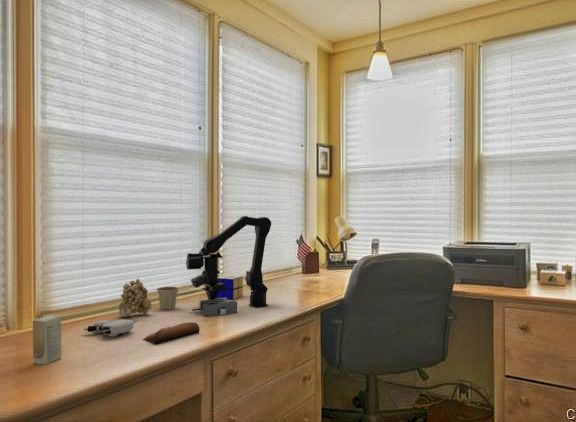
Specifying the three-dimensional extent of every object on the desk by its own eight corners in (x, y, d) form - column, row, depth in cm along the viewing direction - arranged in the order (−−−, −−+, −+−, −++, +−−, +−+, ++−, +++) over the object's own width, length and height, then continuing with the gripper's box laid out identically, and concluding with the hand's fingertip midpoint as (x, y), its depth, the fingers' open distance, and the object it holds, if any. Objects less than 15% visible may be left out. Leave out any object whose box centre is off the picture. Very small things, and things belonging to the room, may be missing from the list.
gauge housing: (223, 306, 198) (223, 296, 198) (237, 312, 187) (237, 301, 187) (187, 311, 189) (187, 300, 189) (199, 317, 178) (199, 306, 178)
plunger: (225, 307, 194) (225, 297, 194) (236, 312, 185) (236, 301, 185) (191, 312, 186) (191, 301, 186) (200, 317, 177) (200, 306, 177)
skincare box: (50, 356, 131) (50, 314, 130) (62, 357, 129) (62, 315, 129) (31, 363, 124) (31, 319, 124) (44, 365, 123) (44, 320, 123)
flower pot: (172, 311, 189) (172, 290, 189) (152, 310, 191) (152, 290, 191) (182, 306, 198) (182, 287, 198) (162, 305, 200) (162, 286, 200)
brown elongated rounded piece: (184, 328, 161) (190, 313, 159) (195, 341, 158) (201, 326, 155) (140, 339, 147) (146, 324, 145) (151, 354, 143) (157, 338, 141)
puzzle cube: (214, 298, 216) (214, 277, 216) (225, 295, 225) (225, 275, 225) (233, 300, 212) (233, 279, 212) (243, 296, 222) (243, 276, 222)
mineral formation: (115, 317, 179) (115, 279, 179) (144, 311, 189) (144, 275, 189) (125, 320, 173) (125, 281, 173) (155, 314, 184) (155, 277, 184)
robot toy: (80, 338, 153) (113, 340, 146) (80, 324, 153) (112, 326, 146) (109, 329, 164) (140, 331, 157) (108, 317, 164) (139, 318, 158)
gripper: (185, 267, 196) (185, 303, 196) (201, 272, 180) (201, 311, 180) (209, 265, 202) (209, 300, 202) (226, 270, 186) (226, 308, 186)
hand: (211, 304), depth 192 cm, fingers closed
